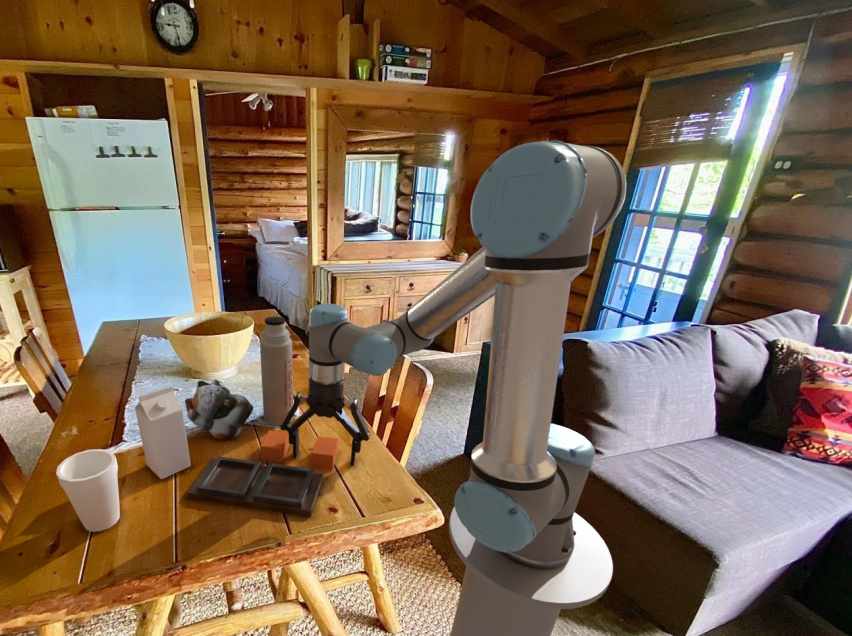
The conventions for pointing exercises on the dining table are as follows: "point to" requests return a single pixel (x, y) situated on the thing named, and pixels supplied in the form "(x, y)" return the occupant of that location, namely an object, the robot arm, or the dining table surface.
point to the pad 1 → (274, 446)
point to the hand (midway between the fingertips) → (324, 458)
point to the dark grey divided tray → (258, 485)
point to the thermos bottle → (276, 371)
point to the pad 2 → (324, 453)
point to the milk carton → (163, 432)
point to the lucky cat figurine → (218, 410)
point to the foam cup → (92, 487)
